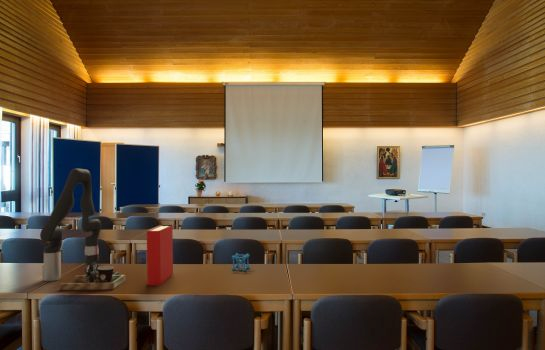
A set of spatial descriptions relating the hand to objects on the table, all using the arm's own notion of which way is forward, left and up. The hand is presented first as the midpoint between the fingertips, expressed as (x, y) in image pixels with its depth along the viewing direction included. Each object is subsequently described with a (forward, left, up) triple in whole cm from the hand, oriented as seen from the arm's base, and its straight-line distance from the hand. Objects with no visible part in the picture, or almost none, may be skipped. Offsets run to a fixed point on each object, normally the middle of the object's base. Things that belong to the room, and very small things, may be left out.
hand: (91, 282), depth 242 cm
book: (+37, +12, -2) cm, 39 cm away
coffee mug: (+7, 0, -1) cm, 7 cm away
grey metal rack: (+1, +4, -1) cm, 5 cm away
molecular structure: (+85, +36, -2) cm, 93 cm away
